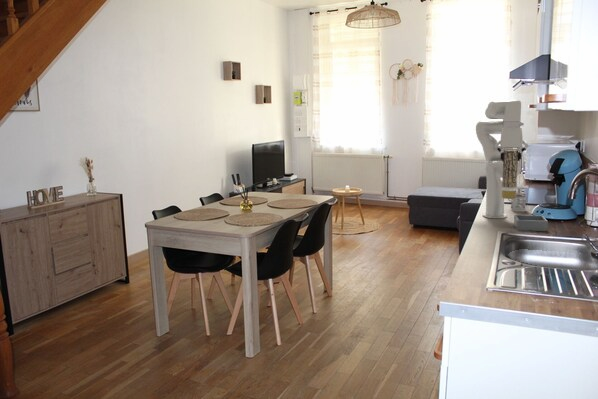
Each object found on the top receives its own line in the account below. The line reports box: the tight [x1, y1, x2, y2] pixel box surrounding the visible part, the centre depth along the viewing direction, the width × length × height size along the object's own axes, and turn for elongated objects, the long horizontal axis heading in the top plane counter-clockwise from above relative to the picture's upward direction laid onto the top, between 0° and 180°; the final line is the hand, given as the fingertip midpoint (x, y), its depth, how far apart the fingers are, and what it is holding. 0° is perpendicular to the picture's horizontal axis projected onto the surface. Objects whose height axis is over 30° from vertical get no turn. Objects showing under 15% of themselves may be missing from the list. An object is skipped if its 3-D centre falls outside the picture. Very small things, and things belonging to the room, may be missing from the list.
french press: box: [507, 167, 528, 212], centre depth 292 cm, size 10×12×25 cm
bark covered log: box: [501, 148, 519, 200], centre depth 250 cm, size 7×7×25 cm
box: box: [513, 214, 549, 232], centre depth 248 cm, size 14×14×5 cm
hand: (510, 160), depth 249 cm, fingers closed on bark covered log, 6 cm apart
